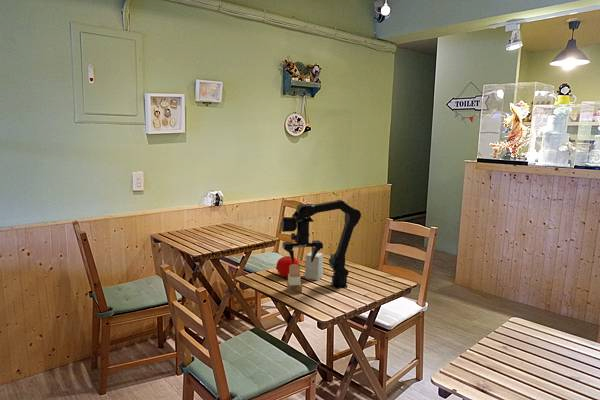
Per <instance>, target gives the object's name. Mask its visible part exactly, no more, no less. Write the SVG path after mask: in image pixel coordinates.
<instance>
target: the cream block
mask: <svg viewBox="0 0 600 400" xmlns="http://www.w3.org/2000/svg"><path fill="white" fill-rule="evenodd" d="M287 282H288V283H289V285H300V283H301V275H300V276H299V277H291V276H289V274H288V277H287Z"/></svg>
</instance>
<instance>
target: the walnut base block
mask: <svg viewBox="0 0 600 400" xmlns="http://www.w3.org/2000/svg"><path fill="white" fill-rule="evenodd" d="M286 283H287V284H286V290H287V292H288V294H289V295H292V294H293V295H294V294H296V295H297V294H302V293H303V285H302V283H301V282H300V285H289V283H288V281H287V282H286Z"/></svg>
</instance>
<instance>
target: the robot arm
mask: <svg viewBox="0 0 600 400" xmlns="http://www.w3.org/2000/svg"><path fill="white" fill-rule="evenodd" d="M335 210H340V211H341V212H343V213H344V225H343V226H344V227H343V229H342V232H341V236H340V238H339V241H338V245H337V248H336V251H335V252H334V254H332V253H331V254H330V256H329V257H330V258H329V260H328V262H329V264H328V265H329V267H330V268H331V269H332V271H333V273H332V275H331V285H332V286H333V287H334V288H340V289H341V288H348V285H347V284H348V283H347V282H348V281H347V280H348V275H349V273H350V271H348V269H346V253H347V250H348V247H349V244H350V241H351V238H352V235H353V233H354V232H353V231H354V228H355V227H356V226H357V224H359V223H360V220H361V217H362V212H361V211H360V210H359V209H356V208H354V207H352V206H350V205H349V204H348V203H346V202H345V201H343V200H341V199H336V200H332V201H327V202H321V203H315V204H313V203H300V204H298V205H297V207H296V209H295V212H294V213H293V214H292V216H289V217H286V216H282V217H281V218H282V219H281V223H280V230H281V233H282V232H283V233H285V232H287V233H289V232H295V231H296V233H291V234H290V240H291V241H283V242H282V244H281V245H282V248H283V250H284V251H285V252H287V253H289V256H290V257H291V260H292V263H294V258H295V256H294V255H295V253H294V251H295V250H293V249H294V248H310V247H311V252H312V253H311V262H313V260H314V258H315V255H316V254H317V253H319V251H321V249H323V248H324V243H323V242H322V241H321V240H318V239H317V240H312V241H311V242H310V222H311V223H313V222H315V221H314V219H313V218H312V216H314V215H316V214H319V213H324V212H329V211H335ZM292 241H294V243H292Z"/></svg>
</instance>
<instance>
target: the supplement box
mask: <svg viewBox="0 0 600 400" xmlns="http://www.w3.org/2000/svg"><path fill="white" fill-rule="evenodd" d="M311 253H312V251H310V252H307V254H305V263H304V264H305V265H304V272H305V273H304V278H305V279H308V280H314V281H318V280H320V279H321V278H323V270H324V253H321V252H317V254H316V255H315V258H314V260H313V262H311Z"/></svg>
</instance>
